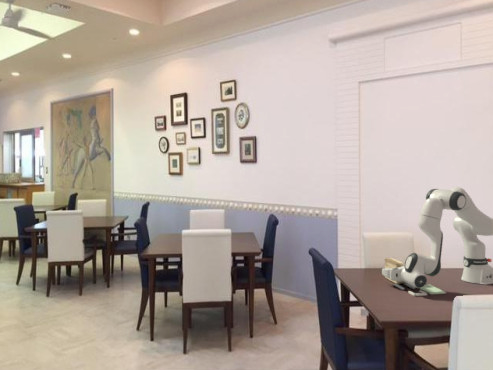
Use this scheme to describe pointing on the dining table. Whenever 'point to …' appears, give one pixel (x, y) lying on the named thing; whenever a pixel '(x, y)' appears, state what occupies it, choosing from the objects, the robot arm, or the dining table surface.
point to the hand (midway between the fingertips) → (393, 268)
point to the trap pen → (418, 293)
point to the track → (403, 287)
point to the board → (393, 266)
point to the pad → (431, 289)
